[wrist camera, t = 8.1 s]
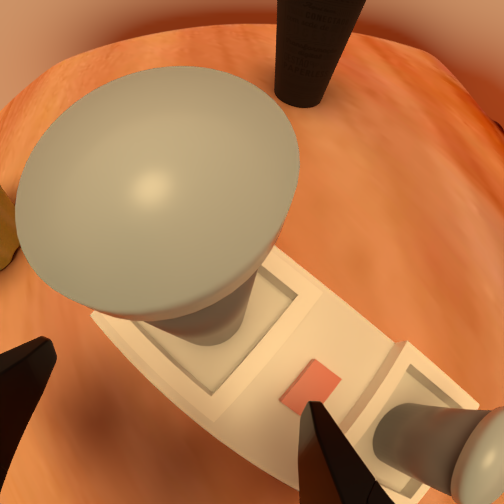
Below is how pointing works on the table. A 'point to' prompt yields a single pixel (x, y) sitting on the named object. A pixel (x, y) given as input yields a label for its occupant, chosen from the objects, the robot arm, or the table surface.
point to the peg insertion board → (324, 390)
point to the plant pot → (7, 230)
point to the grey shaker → (160, 199)
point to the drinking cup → (310, 46)
